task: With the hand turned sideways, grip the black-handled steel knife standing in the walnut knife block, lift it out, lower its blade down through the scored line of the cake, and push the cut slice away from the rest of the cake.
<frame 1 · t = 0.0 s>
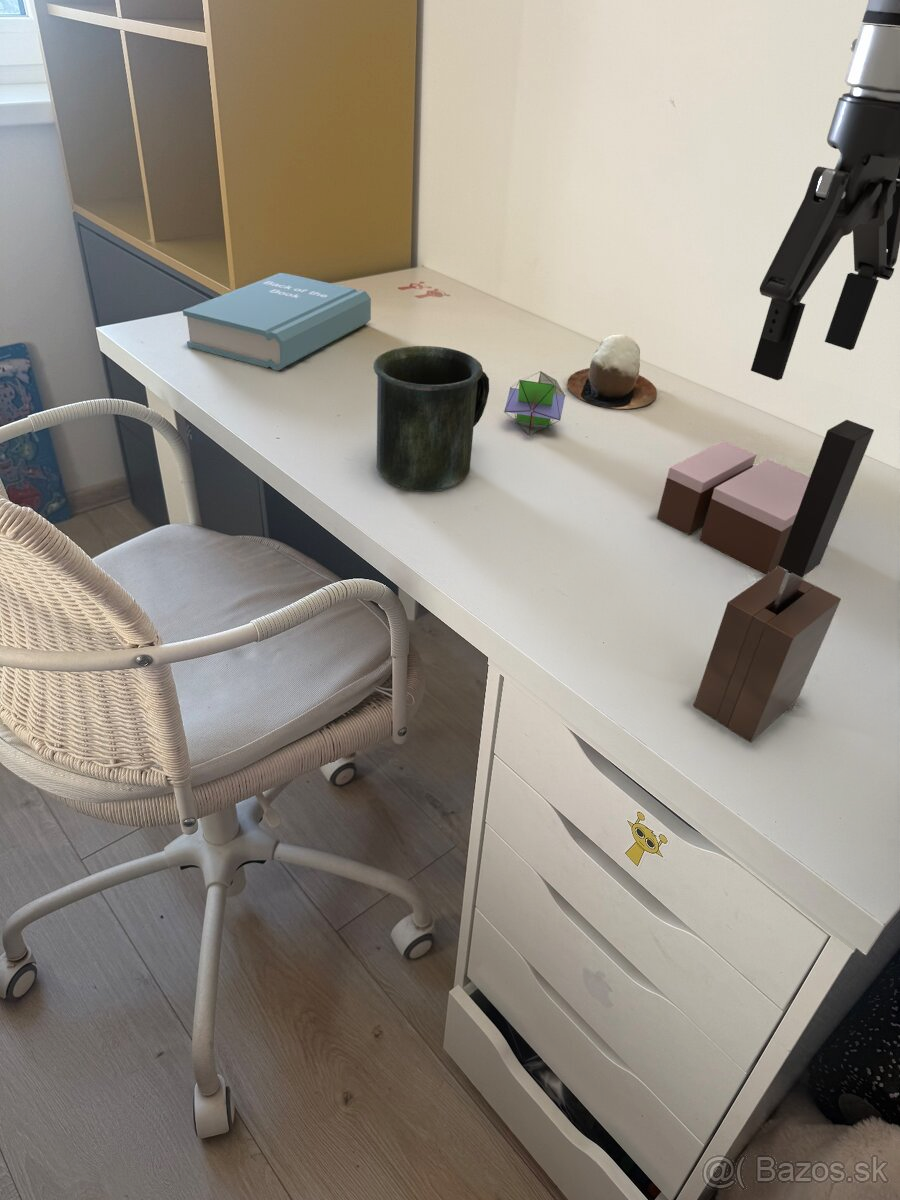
hand: (804, 359, 77), 17 cm above the table, tool pointing down, fingers open, 13 cm apart
geometric puzzle: (531, 429, 101), on the table
knife: (791, 582, 57), in the knife block
book: (283, 337, 121), on the table
mug: (433, 468, 92), on the table
cake: (758, 540, 84), on the table
cake slice: (699, 511, 87), on the table
hat: (611, 392, 112), on the table
knife block: (745, 703, 64), on the table
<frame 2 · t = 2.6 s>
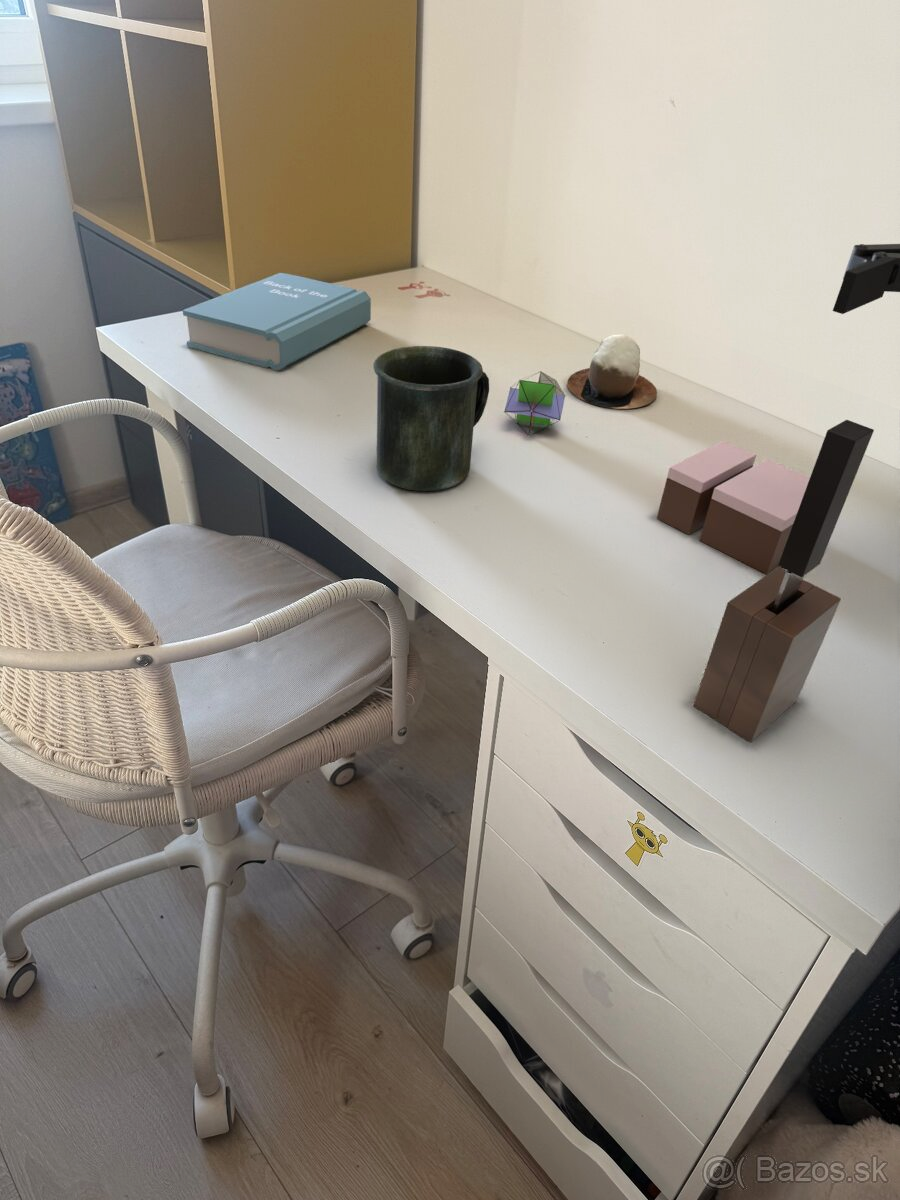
nothing on the table moved.
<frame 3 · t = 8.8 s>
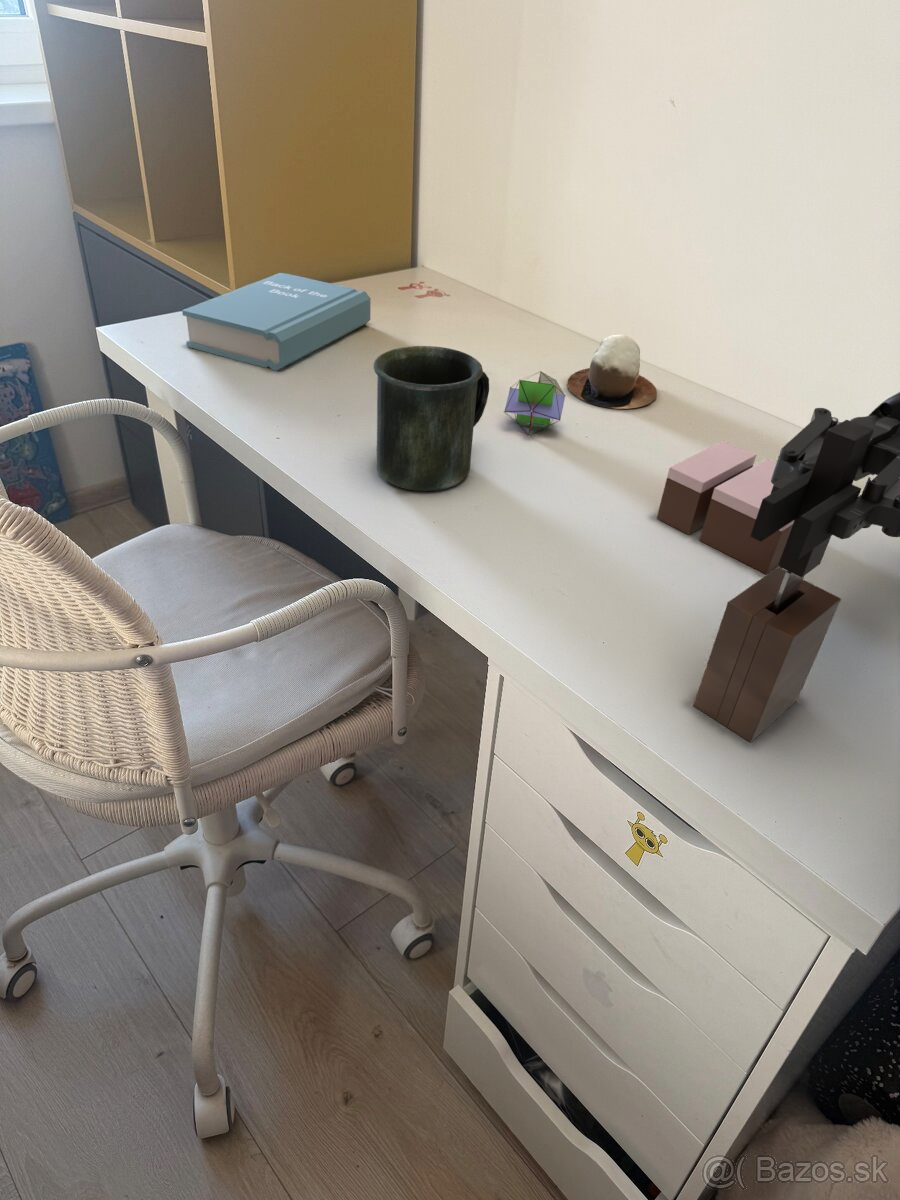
hand: (780, 529, 50), 18 cm above the table, tool horizontal, fingers closed on knife, 2 cm apart
knife: (791, 582, 57), in the knife block, touching gripper
everything else where it was.
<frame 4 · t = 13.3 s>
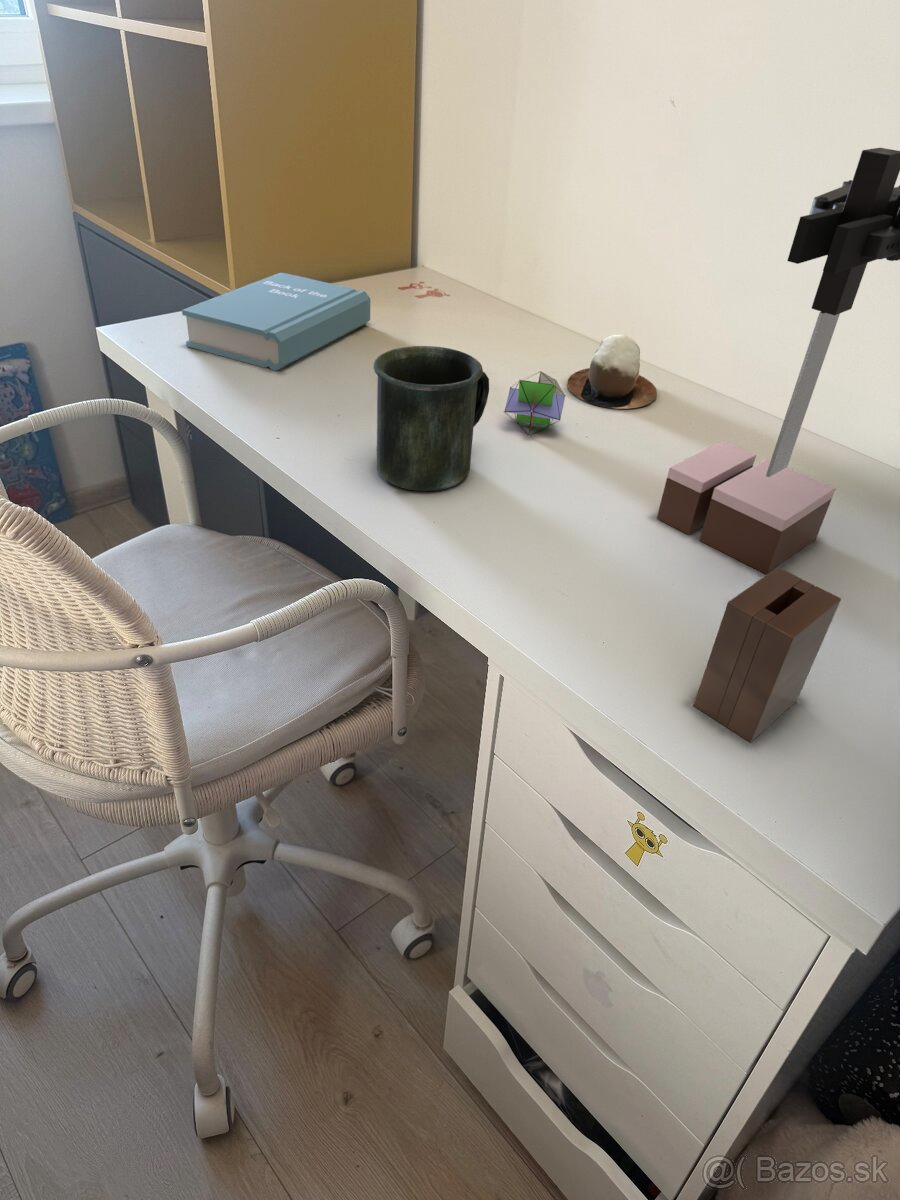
hand: (817, 245, 53), 31 cm above the table, tool horizontal, fingers closed on knife, 2 cm apart
knife: (824, 329, 60), point 25 cm above the table, touching gripper
everything else where it was.
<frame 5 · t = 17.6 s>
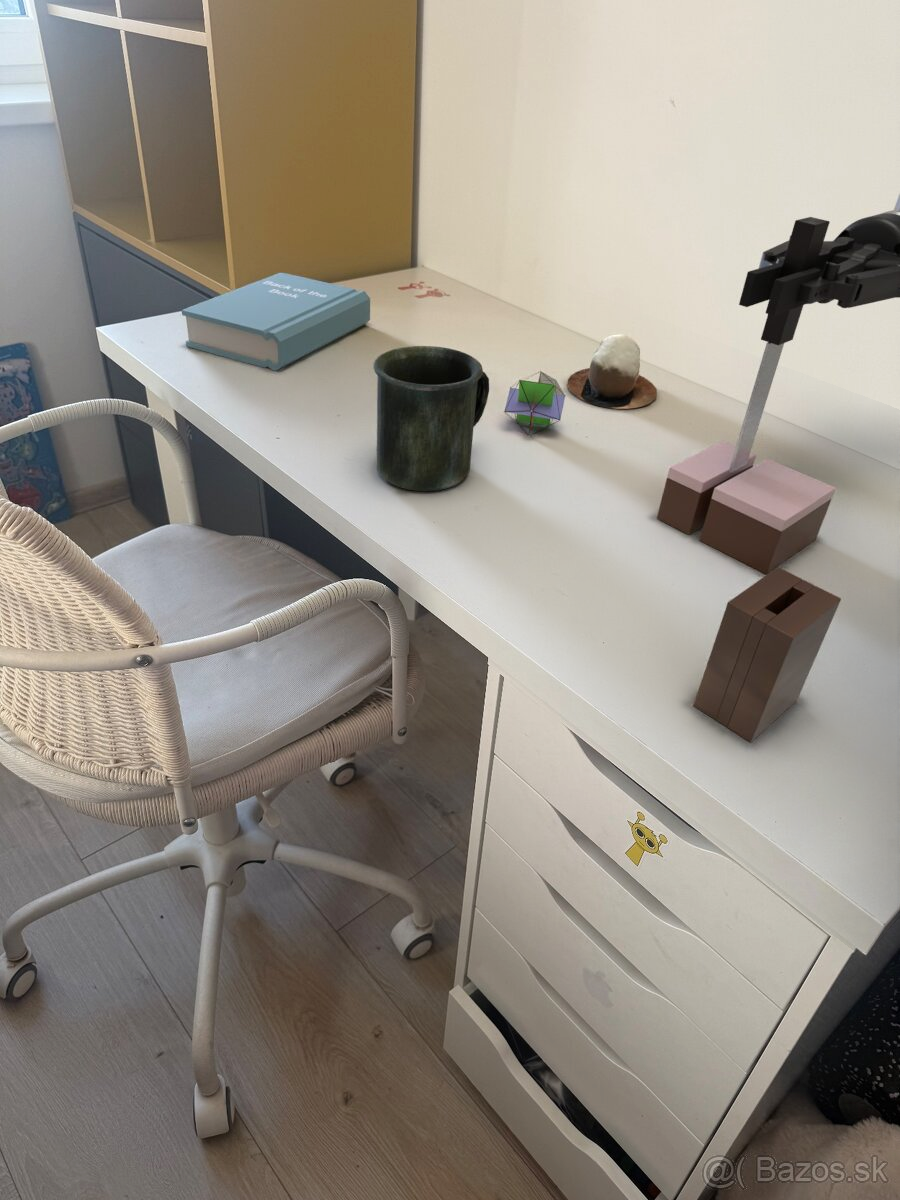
hand: (760, 293, 68), 24 cm above the table, tool horizontal, fingers closed on knife, 2 cm apart
knife: (771, 356, 75), point 18 cm above the table, touching gripper
everything else where it was.
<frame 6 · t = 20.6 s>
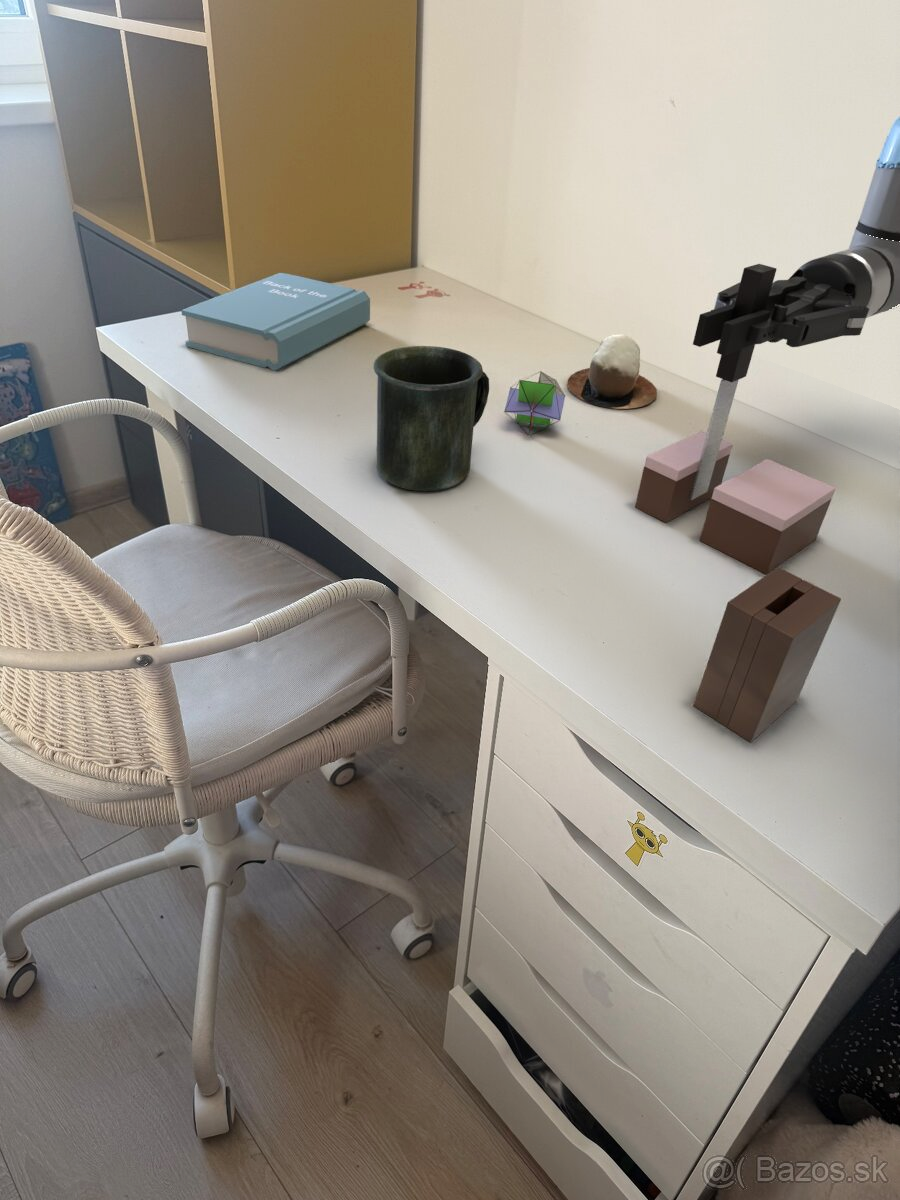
hand: (712, 334, 73), 20 cm above the table, tool horizontal, fingers closed on knife, 2 cm apart
knife: (726, 391, 80), point 13 cm above the table, touching gripper
cake slice: (677, 500, 89), on the table
everything else where it was.
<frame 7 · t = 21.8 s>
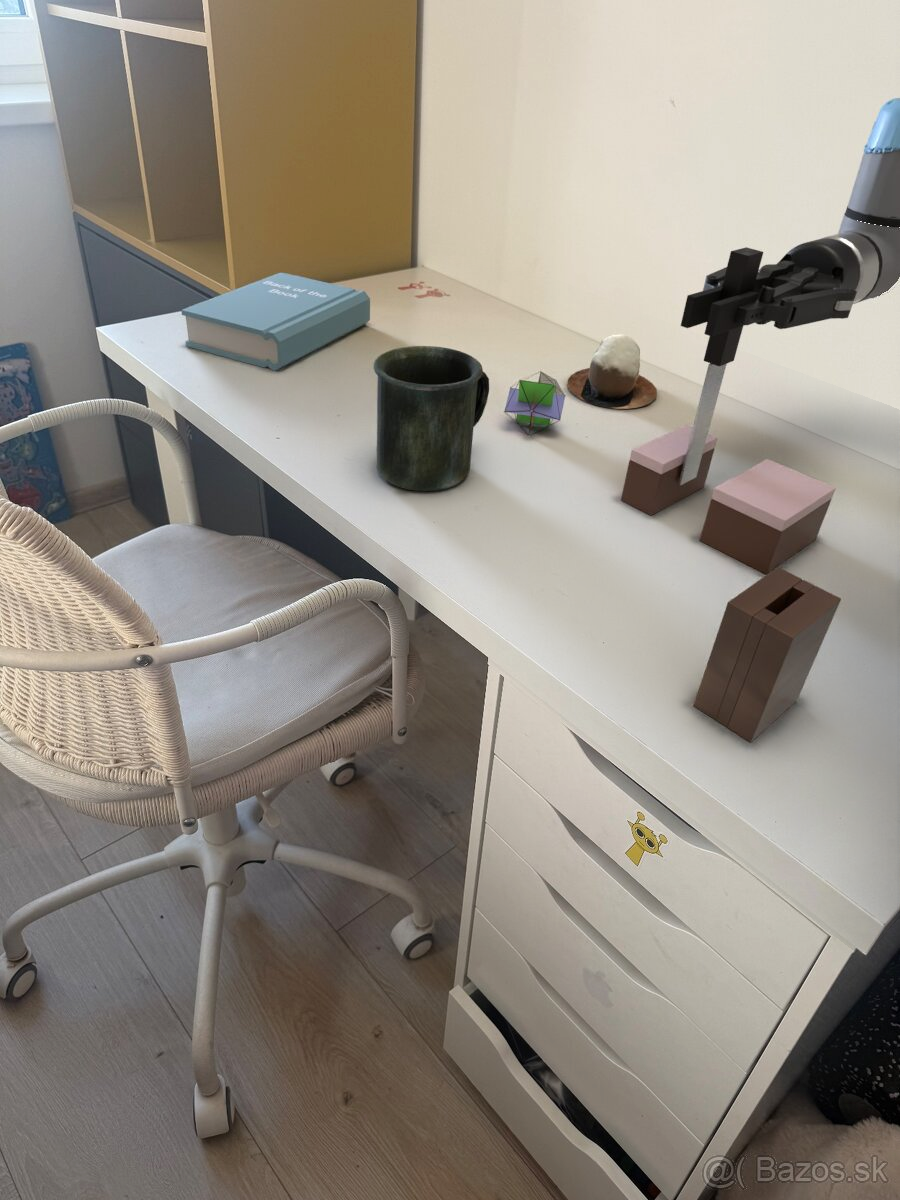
hand: (699, 315, 73), 21 cm above the table, tool horizontal, fingers closed on knife, 2 cm apart
knife: (714, 376, 80), point 14 cm above the table, touching gripper
cake slice: (663, 493, 90), on the table
everything else where it was.
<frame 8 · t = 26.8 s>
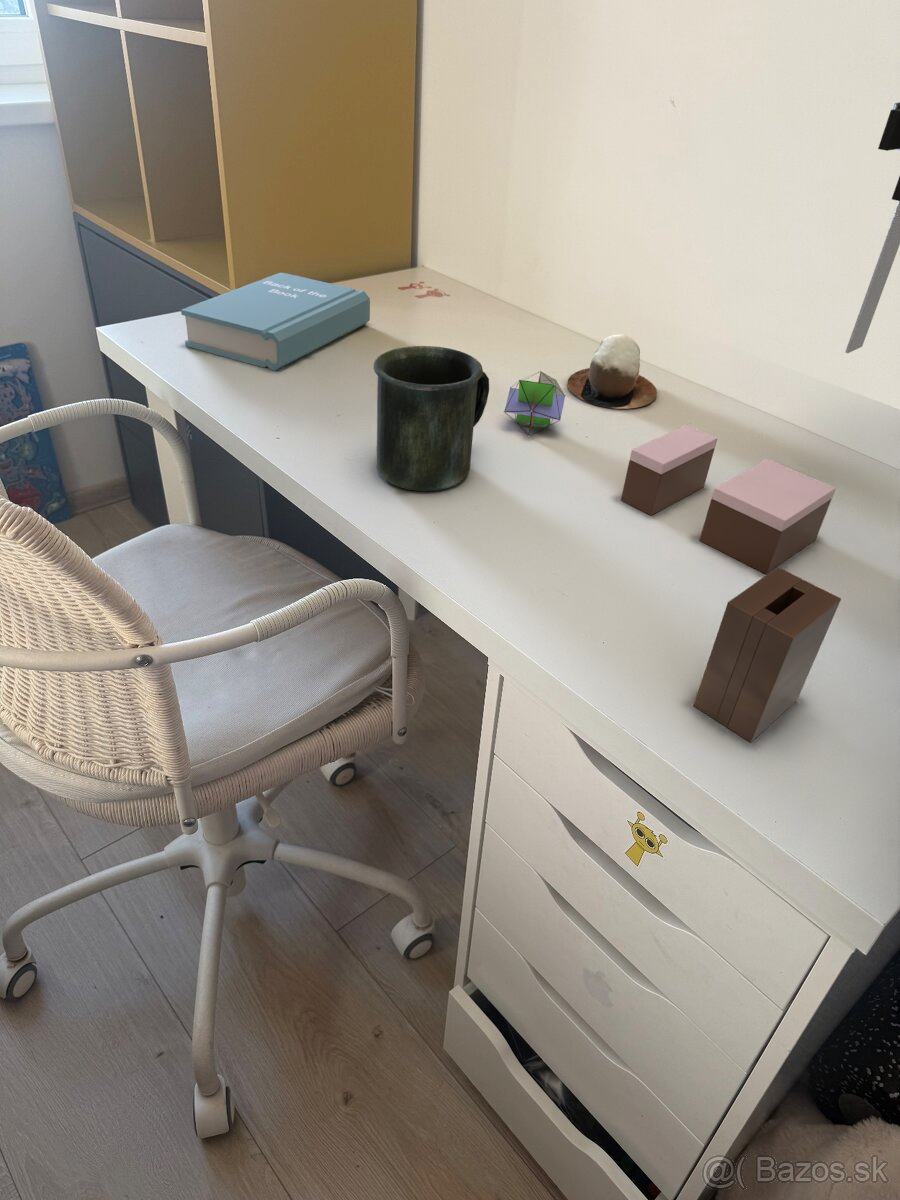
at the end: cake slice moved 4.7 cm from its start; cake moved 0.0 cm from its start; knife touching gripper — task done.
